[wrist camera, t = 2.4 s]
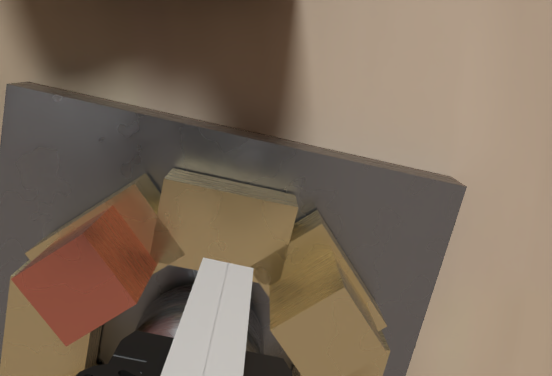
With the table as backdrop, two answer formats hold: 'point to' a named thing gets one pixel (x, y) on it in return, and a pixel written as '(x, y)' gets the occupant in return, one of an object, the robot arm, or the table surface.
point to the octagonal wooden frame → (188, 254)
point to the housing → (230, 166)
